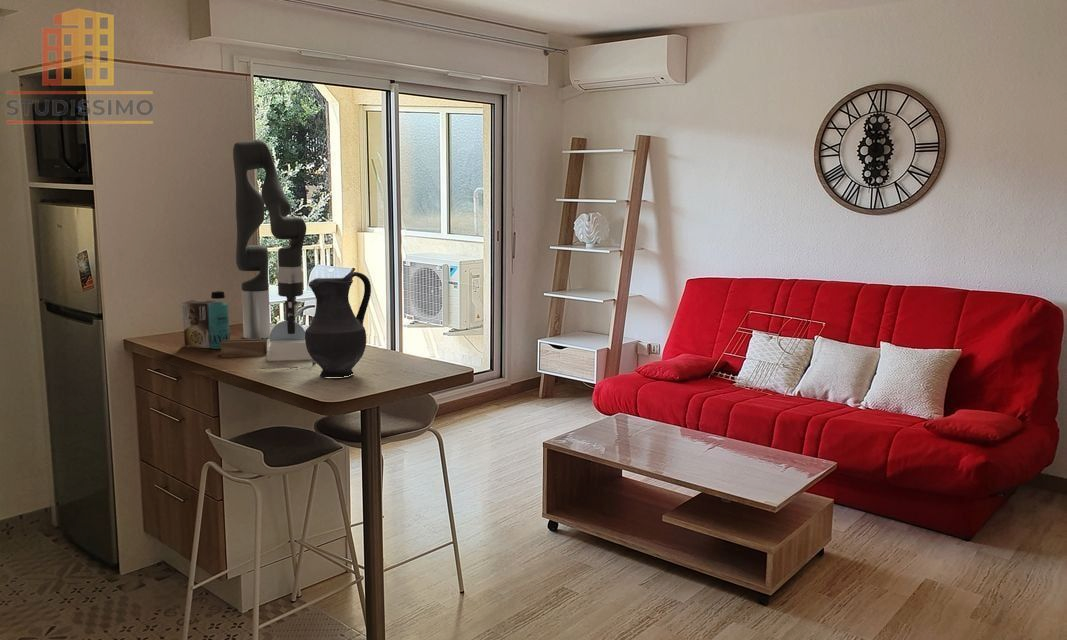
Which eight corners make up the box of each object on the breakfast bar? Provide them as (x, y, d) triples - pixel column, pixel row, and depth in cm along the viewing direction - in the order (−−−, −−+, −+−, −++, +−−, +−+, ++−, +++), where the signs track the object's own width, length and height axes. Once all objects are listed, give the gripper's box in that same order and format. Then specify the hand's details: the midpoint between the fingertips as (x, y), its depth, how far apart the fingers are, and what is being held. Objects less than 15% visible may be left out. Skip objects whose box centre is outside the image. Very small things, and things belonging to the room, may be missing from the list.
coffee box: (219, 347, 282) (217, 300, 280) (209, 351, 276) (207, 303, 273) (193, 346, 283) (191, 299, 281) (183, 350, 277) (181, 302, 274)
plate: (266, 350, 264) (274, 316, 263) (301, 357, 267) (309, 324, 266) (266, 351, 263) (274, 317, 262) (301, 358, 266) (309, 325, 265)
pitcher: (295, 375, 244) (292, 273, 240) (354, 364, 260) (352, 268, 255) (328, 385, 233) (326, 278, 228) (388, 373, 248) (387, 273, 243)
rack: (270, 356, 270) (269, 336, 269) (316, 354, 274) (316, 335, 273) (267, 364, 258) (266, 343, 257) (316, 362, 261) (315, 342, 260)
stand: (223, 356, 268) (222, 339, 267) (267, 355, 271) (267, 338, 271) (221, 360, 262) (220, 342, 262) (266, 358, 266) (265, 341, 265)
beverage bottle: (205, 351, 275) (202, 291, 272) (221, 348, 281) (218, 289, 277) (219, 354, 272) (216, 293, 269) (235, 350, 278) (232, 291, 274)
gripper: (279, 278, 268) (280, 327, 270) (276, 283, 254) (278, 335, 257) (303, 277, 269) (304, 327, 272) (302, 283, 256) (303, 335, 258)
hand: (291, 331), depth 264 cm, fingers open, 8 cm apart
